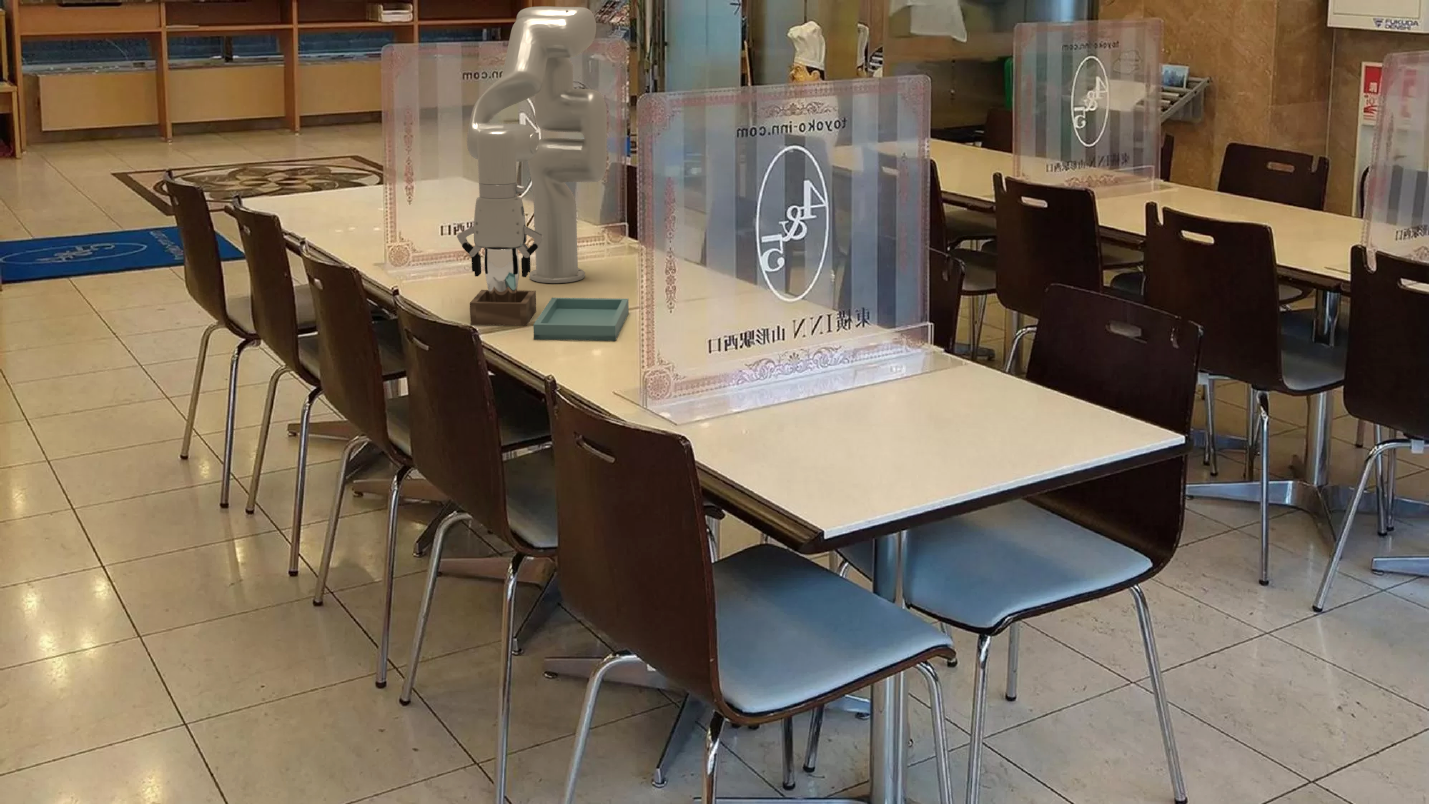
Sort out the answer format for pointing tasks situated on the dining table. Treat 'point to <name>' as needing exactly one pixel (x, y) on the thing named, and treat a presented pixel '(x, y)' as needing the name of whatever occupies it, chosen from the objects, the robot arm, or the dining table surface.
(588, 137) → the robot arm
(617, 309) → the tray
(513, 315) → the box
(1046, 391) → the dining table surface
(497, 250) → the beer glass
